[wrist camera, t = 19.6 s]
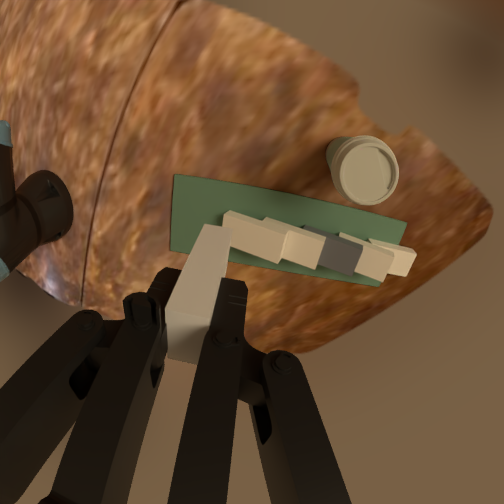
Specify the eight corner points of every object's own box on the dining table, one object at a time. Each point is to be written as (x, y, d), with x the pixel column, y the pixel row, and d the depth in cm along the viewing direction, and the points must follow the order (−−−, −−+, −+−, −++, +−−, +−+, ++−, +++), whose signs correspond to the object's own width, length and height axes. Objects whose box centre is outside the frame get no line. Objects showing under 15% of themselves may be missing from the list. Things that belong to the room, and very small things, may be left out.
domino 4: (361, 268, 45) (405, 276, 46) (372, 243, 43) (416, 254, 43) (358, 262, 47) (402, 270, 48) (368, 238, 45) (412, 248, 45)
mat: (171, 249, 48) (170, 250, 48) (175, 173, 41) (174, 174, 41) (378, 285, 50) (378, 286, 50) (406, 222, 43) (407, 223, 43)
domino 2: (256, 248, 45) (315, 269, 42) (262, 220, 42) (324, 242, 40) (260, 243, 46) (317, 263, 44) (266, 216, 44) (326, 237, 42)
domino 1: (219, 242, 44) (277, 263, 42) (223, 214, 42) (285, 235, 39) (225, 237, 46) (281, 258, 44) (229, 210, 44) (289, 230, 41)
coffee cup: (361, 187, 41) (390, 216, 30) (310, 174, 40) (326, 200, 30) (375, 137, 36) (411, 151, 26) (323, 121, 36) (345, 128, 26)
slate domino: (294, 255, 45) (351, 276, 43) (302, 228, 42) (362, 250, 40) (297, 250, 47) (352, 270, 44) (305, 224, 44) (363, 245, 42)
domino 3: (329, 262, 45) (382, 282, 43) (338, 236, 43) (394, 257, 40) (331, 257, 47) (382, 276, 44) (340, 231, 44) (393, 252, 42)
